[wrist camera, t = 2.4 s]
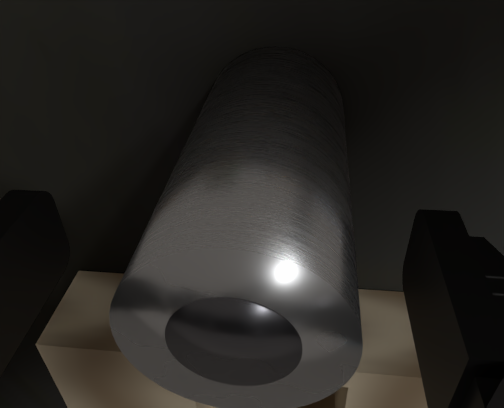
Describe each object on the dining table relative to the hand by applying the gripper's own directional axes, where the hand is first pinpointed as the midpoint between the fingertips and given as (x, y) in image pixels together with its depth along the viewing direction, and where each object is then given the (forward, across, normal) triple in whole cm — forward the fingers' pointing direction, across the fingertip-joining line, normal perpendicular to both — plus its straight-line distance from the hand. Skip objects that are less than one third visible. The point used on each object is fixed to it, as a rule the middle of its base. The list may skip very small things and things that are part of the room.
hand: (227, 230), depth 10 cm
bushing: (+6, -1, 0) cm, 6 cm away
